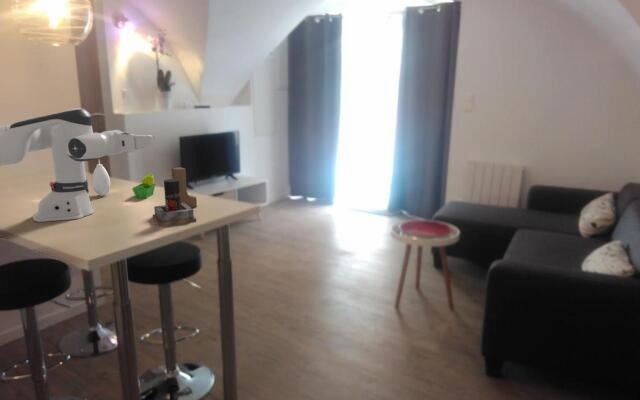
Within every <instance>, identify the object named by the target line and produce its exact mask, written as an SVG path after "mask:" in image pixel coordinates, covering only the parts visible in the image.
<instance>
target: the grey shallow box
mask: <svg viewBox="0 0 640 400" xmlns="http://www.w3.org/2000/svg"><path fill="white" fill-rule="evenodd" d="M153 211H154V214H152V218H153V220H155V222H156V223H157V224H158V225H159V227H165V226H172V225H173V226H174V225H178V224H186V223H194V222H197V217H196V216H194V215H195V214H194V208H193V207H192V208H190V207H189V206H188V205H187V204H186V203H181V210H178V211H170V212H166V204H165V205H157V206H155V205H154V209H153Z"/></svg>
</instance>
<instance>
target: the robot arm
mask: <svg viewBox="0 0 640 400" xmlns="http://www.w3.org/2000/svg"><path fill="white" fill-rule="evenodd" d="M155 140H156V136H155V135H149V134H147V135H146V134H145V135H144V134H134V133H128V132H124V131H121V130H119V129H113V130H105V131H102V132H94V130H93V116H92V114H91V113H90V112H89V111H88V110H86V109H85V108H82V107H72V108H68V109H65V110H63V111H60V112H57V113H52V114H46V115H43V116H37V117H33V118H29V119H26V120H25V119H24V120H20V121H17V122H14V123H12V124H2V125H1V124H0V166H9V165H16V164H19V163H20V162H22V161H23V160H24V159H25V157H27V154H28V153H29V152H37V151H42V150H48V149H51V152H52V159H53V167H54V175H55V181H50V182H49V187H50V189H51V192H49V193H48V194H47V195H46V196H44V197H43V198H42V199H41V200H40V201H39V203H38V206H37V211H36V212H35V213H33V214H32V220H33V221H35V222H38V223H42V222H52V221H55V222H56V221H67V220H69V221H70V220H78V219H81V218H83V217H87V216H89V215H91V214H94V212H95V209H94V208H93V206H92V203H91V199H90V195H89V192H90V189H89V188H90V187H89V182H88V181H89V180H88V179H87V177H86V175H87V174H86V165H85V162H88V161H94V160H96V159H100V158H103V157H104V156H115V155H120V154H121V155H122V154H125V153H134V152H136V150H141V149H145V148H149V147H151V146H153V144H154V141H155Z"/></svg>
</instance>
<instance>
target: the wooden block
mask: <svg viewBox="0 0 640 400" xmlns="http://www.w3.org/2000/svg"><path fill="white" fill-rule="evenodd" d="M171 179H179V182H180V198H181V203H186V204H187V205H188V206H189V207H190V208H192V209H193V208H196V207H197V205H198V204H197V201H198V200H197V197H196V196H194V195H189V194H188V190H187V189H188V187H187V172H186V168H184V167H180V166H179V167H172V168H171Z"/></svg>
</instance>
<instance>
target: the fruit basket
mask: <svg viewBox="0 0 640 400" xmlns="http://www.w3.org/2000/svg"><path fill="white" fill-rule="evenodd" d="M154 182H155V179H154V174H153V173H150V172H149V173H147V175H146V176H144V177H142V179H141V183H140V184H138V185H136V186H134V187H132V188H131V189H132V191H133V195H134V197H135V199H148V198H149V197H151V196H153V195H154V194H155V193H154V192H155V187H156V184H155V183H154Z"/></svg>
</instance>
